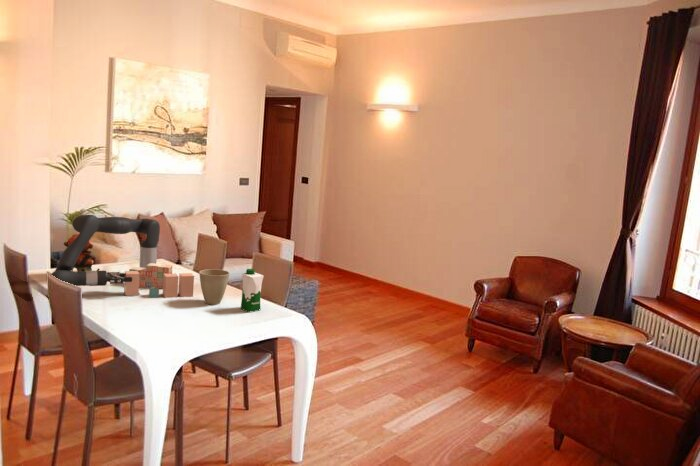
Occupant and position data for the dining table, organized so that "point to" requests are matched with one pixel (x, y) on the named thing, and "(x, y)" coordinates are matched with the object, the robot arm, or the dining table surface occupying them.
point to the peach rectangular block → (186, 284)
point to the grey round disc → (130, 295)
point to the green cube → (153, 292)
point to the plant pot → (213, 284)
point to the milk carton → (251, 290)
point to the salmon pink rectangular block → (132, 283)
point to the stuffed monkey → (82, 256)
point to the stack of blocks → (152, 274)
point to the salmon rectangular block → (170, 285)
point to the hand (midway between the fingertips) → (130, 277)
